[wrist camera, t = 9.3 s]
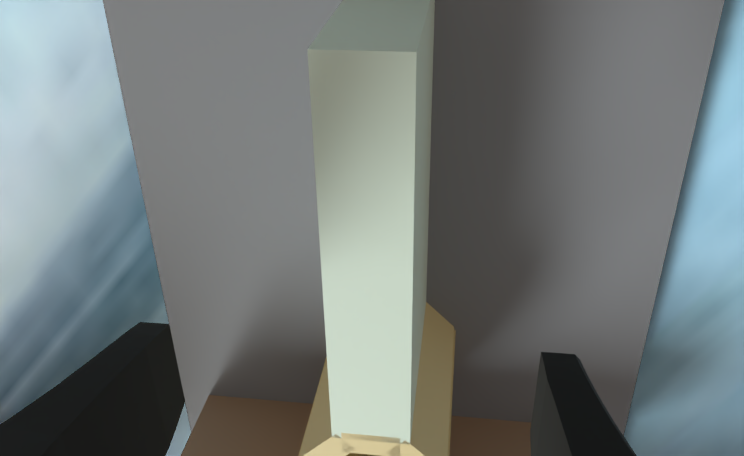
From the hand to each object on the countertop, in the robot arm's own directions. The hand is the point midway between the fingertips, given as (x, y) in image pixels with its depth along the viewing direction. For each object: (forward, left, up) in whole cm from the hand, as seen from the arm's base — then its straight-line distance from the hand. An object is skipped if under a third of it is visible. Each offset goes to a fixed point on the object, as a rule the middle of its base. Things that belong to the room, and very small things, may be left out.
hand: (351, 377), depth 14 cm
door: (-1, 0, -8) cm, 8 cm away
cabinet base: (-1, 0, -9) cm, 10 cm away
